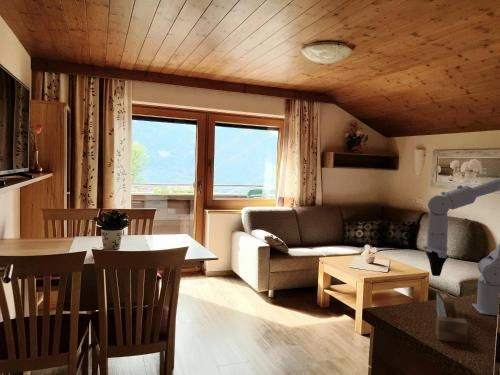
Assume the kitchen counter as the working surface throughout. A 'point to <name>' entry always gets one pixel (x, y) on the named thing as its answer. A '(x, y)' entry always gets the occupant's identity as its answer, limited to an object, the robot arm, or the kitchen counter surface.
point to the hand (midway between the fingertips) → (435, 275)
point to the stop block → (451, 329)
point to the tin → (445, 305)
